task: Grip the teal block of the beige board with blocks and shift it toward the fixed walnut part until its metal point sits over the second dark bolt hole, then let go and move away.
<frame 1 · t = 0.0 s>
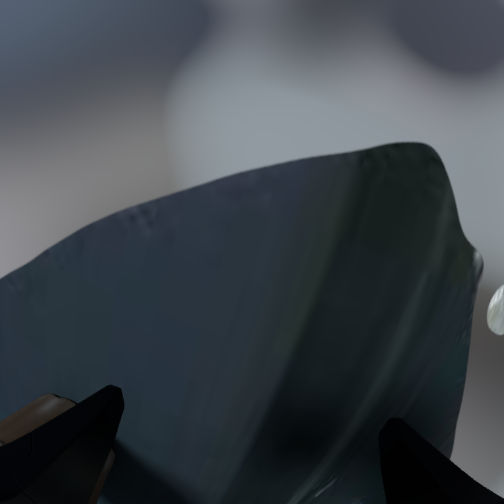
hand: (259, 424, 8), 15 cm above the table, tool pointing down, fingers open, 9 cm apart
plant pot: (74, 433, 24), on the table
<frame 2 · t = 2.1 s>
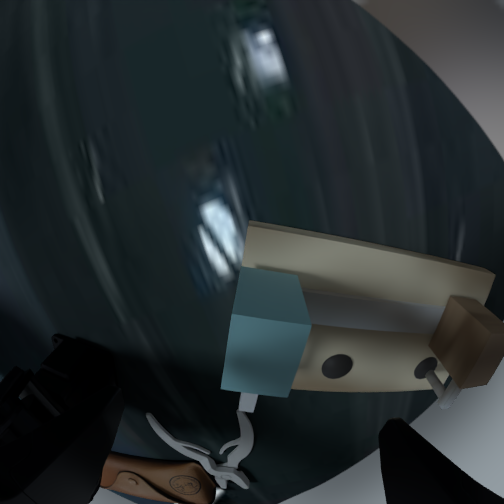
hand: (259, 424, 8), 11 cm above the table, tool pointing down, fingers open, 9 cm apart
teal block: (257, 352, 14), point 5 cm above the table, slide at 6.0 cm
sunglasses case: (144, 467, 27), on the table, touching pliers
beige board with blocks: (370, 321, 18), on the table
pliers: (217, 450, 25), on the table, touching sunglasses case
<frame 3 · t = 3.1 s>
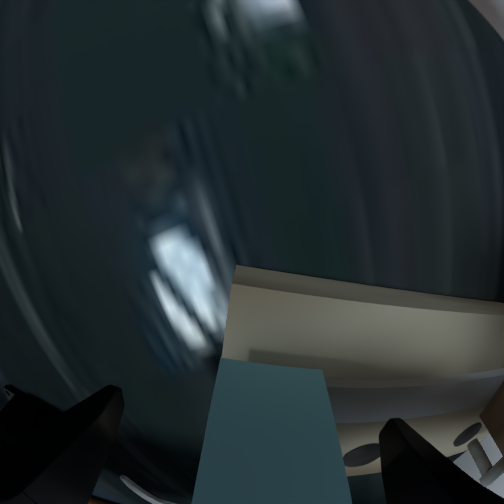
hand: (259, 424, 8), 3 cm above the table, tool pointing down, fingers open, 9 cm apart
teal block: (250, 489, 6), point 5 cm above the table, slide at 6.0 cm
beige board with blocks: (413, 395, 11), on the table
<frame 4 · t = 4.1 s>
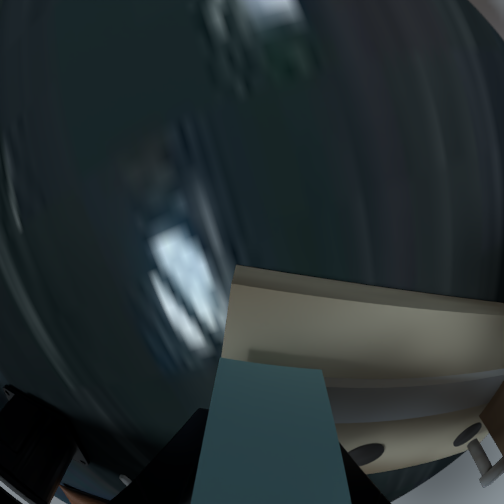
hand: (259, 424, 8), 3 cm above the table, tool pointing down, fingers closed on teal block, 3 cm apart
teal block: (249, 489, 6), point 5 cm above the table, slide at 6.0 cm, touching gripper
beige board with blocks: (413, 395, 11), on the table
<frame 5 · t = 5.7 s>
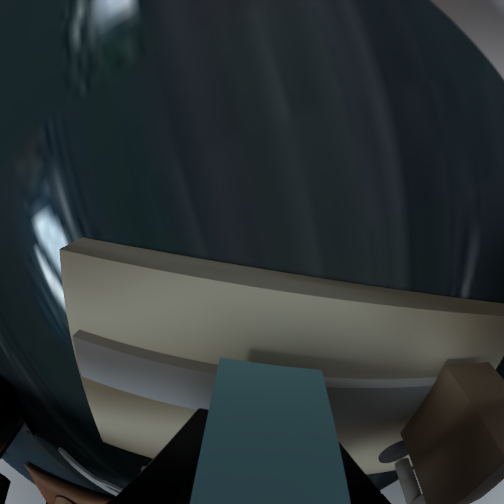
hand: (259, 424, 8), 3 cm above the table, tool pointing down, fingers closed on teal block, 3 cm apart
teal block: (249, 488, 6), point 5 cm above the table, slide at 0.2 cm, touching gripper
sunglasses case: (84, 493, 19), on the table, touching pliers
beige board with blocks: (304, 395, 11), on the table
pliers: (144, 494, 17), on the table, touching sunglasses case
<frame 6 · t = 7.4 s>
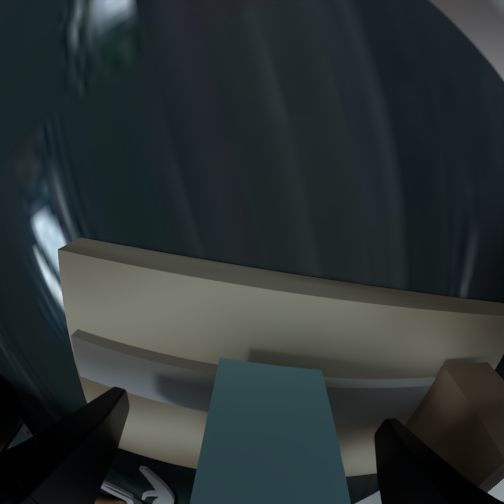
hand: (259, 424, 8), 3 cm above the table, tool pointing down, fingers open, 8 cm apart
teal block: (249, 489, 6), point 5 cm above the table, slide at 0.1 cm
sunglasses case: (83, 492, 19), on the table, touching pliers
beige board with blocks: (302, 395, 11), on the table
pliers: (142, 493, 17), on the table, touching sunglasses case
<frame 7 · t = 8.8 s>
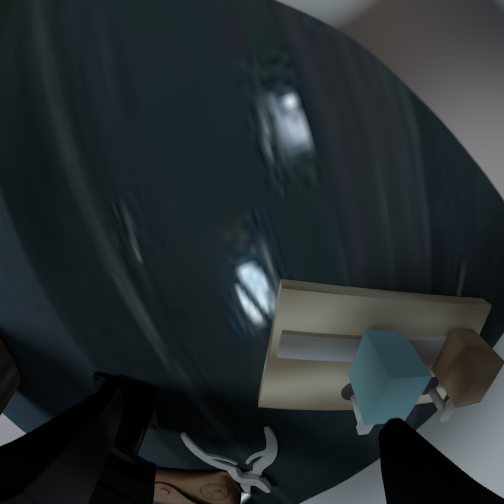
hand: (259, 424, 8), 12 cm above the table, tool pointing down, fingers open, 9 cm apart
teal block: (377, 392, 16), point 5 cm above the table, slide at 0.1 cm
sunglasses case: (173, 476, 29), on the table, touching pliers
beige board with blocks: (382, 351, 21), on the table
pliers: (243, 460, 27), on the table, touching sunglasses case
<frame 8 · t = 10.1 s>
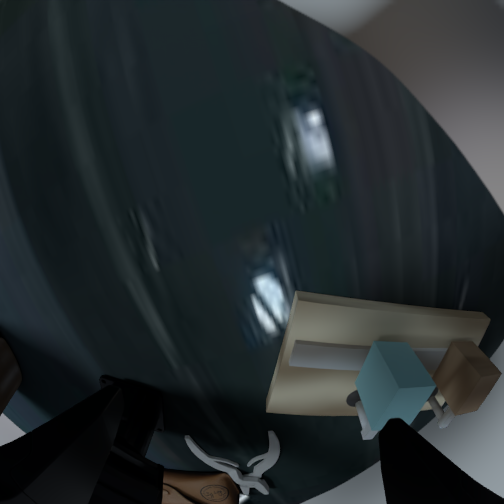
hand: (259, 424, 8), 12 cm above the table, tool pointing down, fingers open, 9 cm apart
teal block: (383, 399, 16), point 5 cm above the table, slide at 0.1 cm
sunglasses case: (173, 477, 29), on the table, touching pliers
beige board with blocks: (386, 361, 21), on the table
pliers: (244, 462, 27), on the table, touching sunglasses case
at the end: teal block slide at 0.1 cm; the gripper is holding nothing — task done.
